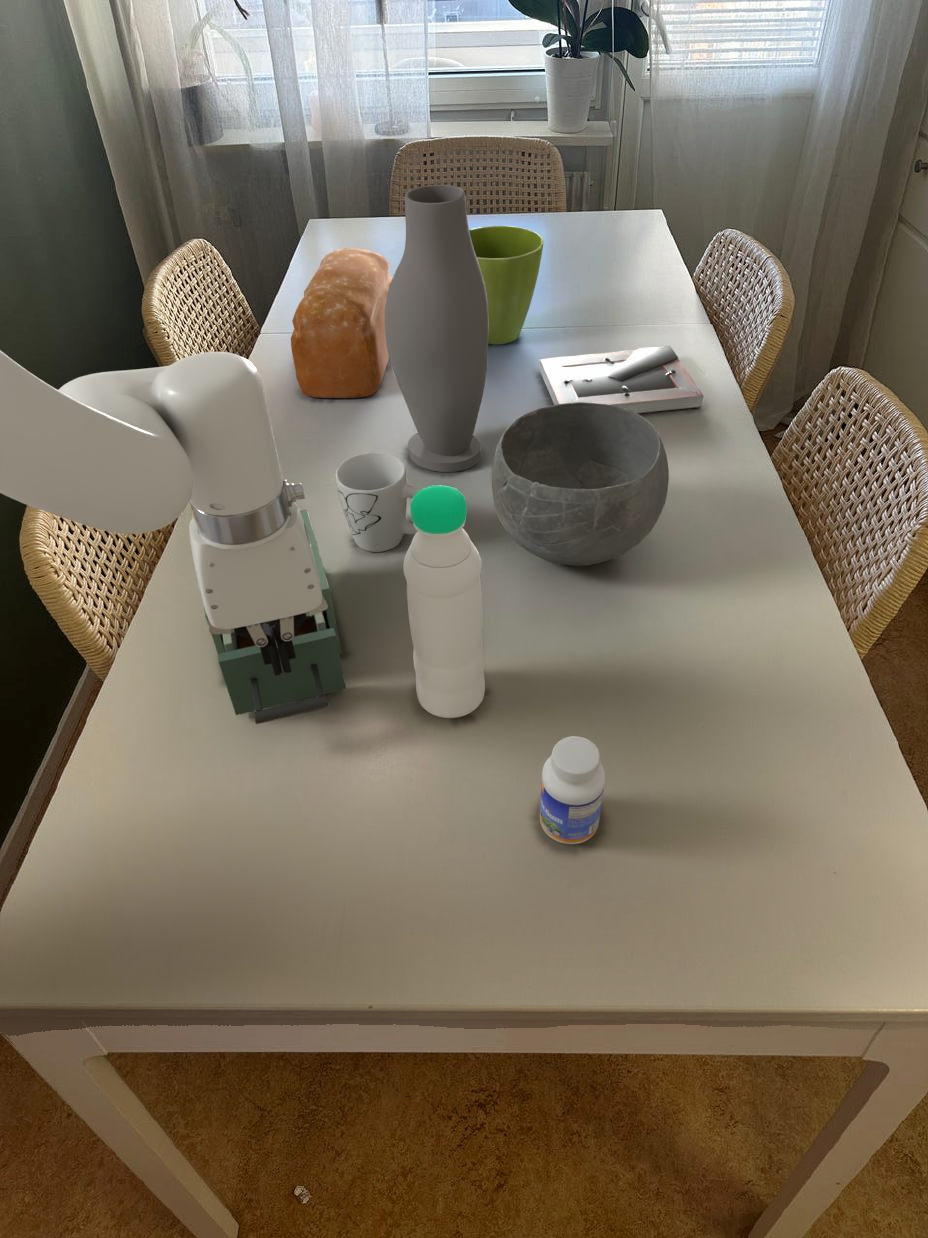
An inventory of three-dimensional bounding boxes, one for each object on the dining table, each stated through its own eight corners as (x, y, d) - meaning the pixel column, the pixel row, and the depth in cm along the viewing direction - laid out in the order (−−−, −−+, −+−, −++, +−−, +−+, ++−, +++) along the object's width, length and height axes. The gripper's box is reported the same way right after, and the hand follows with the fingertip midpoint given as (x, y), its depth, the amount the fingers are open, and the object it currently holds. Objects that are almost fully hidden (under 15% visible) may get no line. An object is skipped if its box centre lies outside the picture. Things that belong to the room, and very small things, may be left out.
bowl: (539, 480, 118) (542, 379, 108) (682, 522, 110) (700, 417, 100) (462, 564, 106) (457, 459, 96) (617, 619, 98) (630, 510, 87)
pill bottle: (529, 806, 80) (531, 739, 73) (582, 788, 81) (589, 721, 74) (555, 855, 76) (559, 789, 69) (610, 835, 77) (619, 768, 71)
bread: (294, 399, 137) (276, 302, 126) (326, 327, 156) (312, 237, 145) (380, 400, 136) (369, 302, 125) (402, 327, 155) (394, 237, 144)
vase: (386, 470, 121) (356, 206, 98) (419, 424, 130) (399, 172, 106) (475, 485, 118) (467, 215, 94) (503, 436, 127) (502, 179, 103)
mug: (442, 525, 112) (438, 459, 105) (423, 566, 106) (417, 498, 99) (359, 513, 114) (350, 448, 107) (335, 553, 108) (324, 486, 101)
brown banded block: (321, 657, 92) (317, 639, 90) (245, 674, 91) (240, 657, 89) (315, 635, 95) (311, 617, 93) (241, 651, 93) (236, 634, 91)
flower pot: (502, 309, 159) (501, 218, 148) (558, 335, 150) (562, 240, 139) (438, 334, 152) (432, 241, 141) (494, 363, 144) (492, 266, 133)
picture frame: (668, 359, 143) (539, 371, 141) (670, 345, 141) (539, 357, 139) (701, 409, 131) (560, 423, 129) (704, 394, 129) (561, 408, 127)
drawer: (357, 728, 86) (347, 675, 81) (241, 757, 84) (223, 704, 79) (323, 606, 100) (313, 553, 94) (223, 628, 98) (207, 575, 92)
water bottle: (497, 686, 91) (495, 487, 74) (461, 731, 87) (450, 531, 69) (441, 662, 94) (426, 465, 77) (403, 704, 89) (379, 506, 72)
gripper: (324, 466, 74) (350, 621, 87) (145, 499, 72) (200, 655, 84) (339, 515, 69) (365, 673, 82) (147, 553, 66) (205, 711, 79)
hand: (281, 663), depth 83 cm, fingers closed
